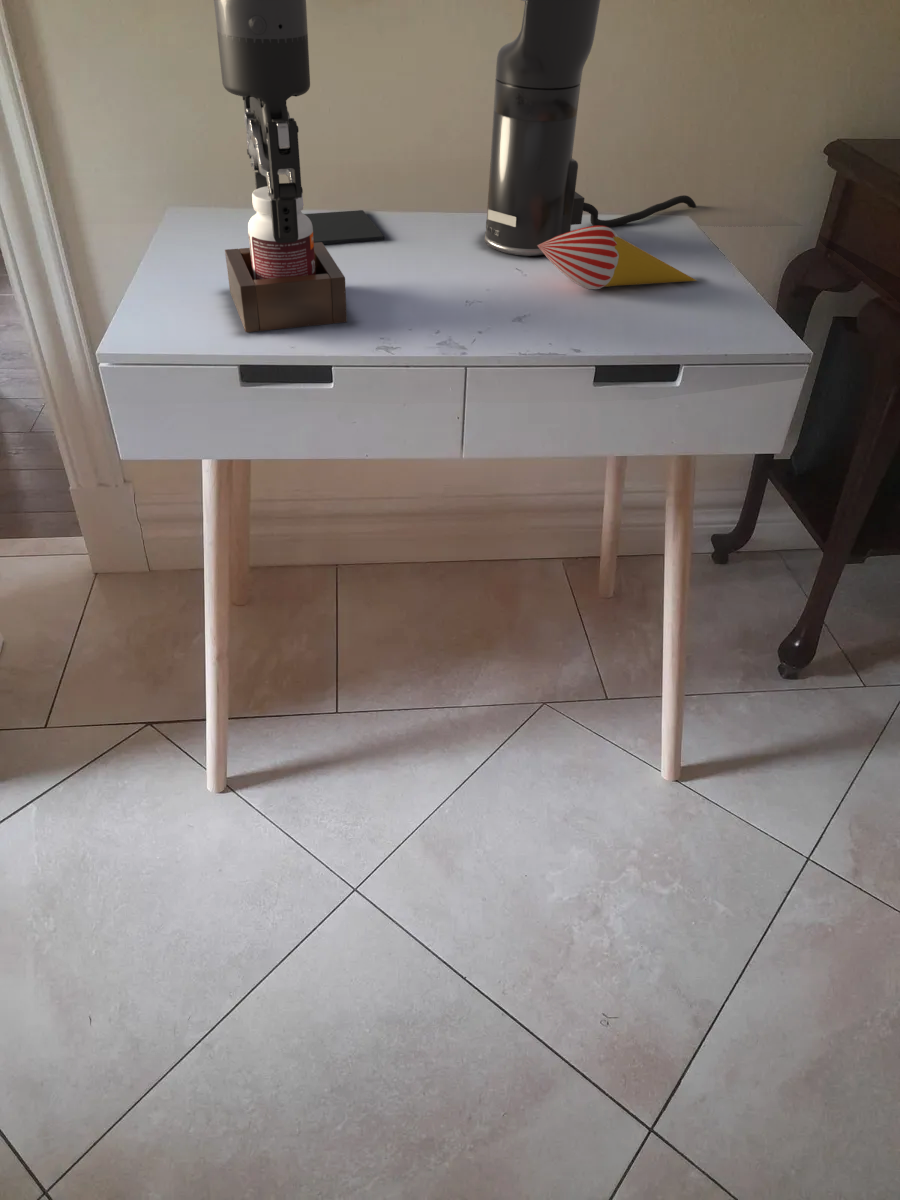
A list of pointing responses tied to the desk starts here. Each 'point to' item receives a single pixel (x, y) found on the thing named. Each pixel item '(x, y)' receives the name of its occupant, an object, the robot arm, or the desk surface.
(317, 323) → the holder
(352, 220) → the coaster
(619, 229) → the desk surface
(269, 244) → the pill bottle
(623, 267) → the ice cream cone
